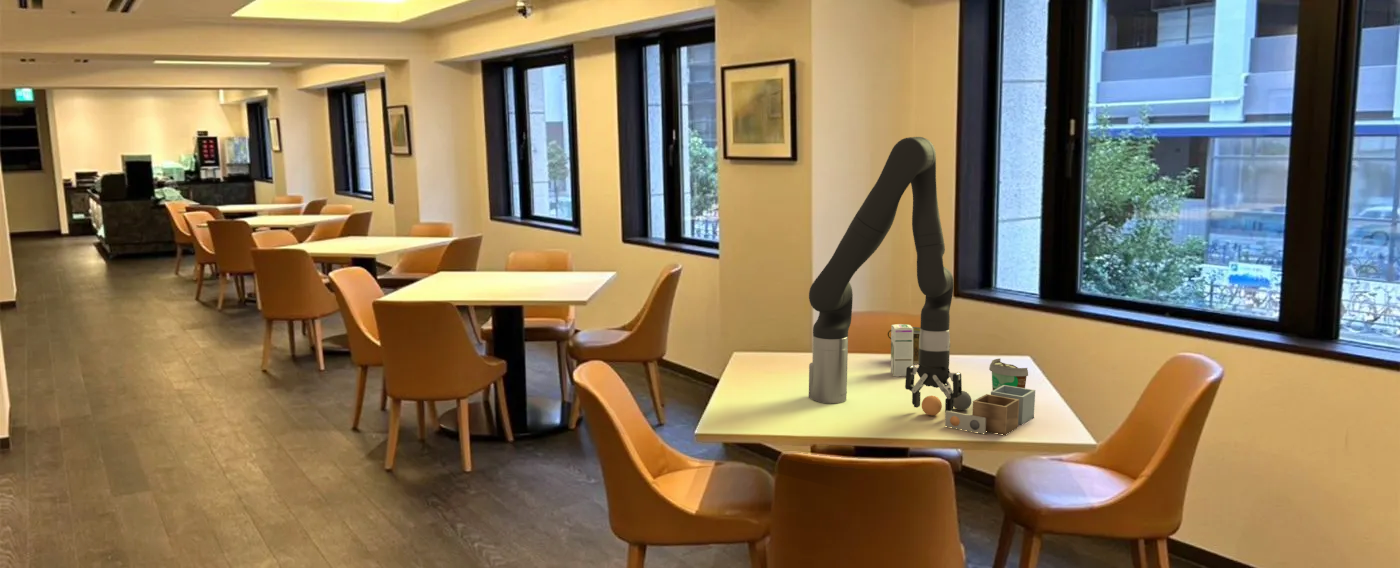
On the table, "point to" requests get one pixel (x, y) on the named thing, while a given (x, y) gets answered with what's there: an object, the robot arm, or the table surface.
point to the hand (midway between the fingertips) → (932, 409)
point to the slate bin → (1024, 397)
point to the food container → (1007, 375)
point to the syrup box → (901, 349)
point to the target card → (965, 422)
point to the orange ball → (931, 405)
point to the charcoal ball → (962, 401)
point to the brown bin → (997, 413)
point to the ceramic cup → (914, 344)
